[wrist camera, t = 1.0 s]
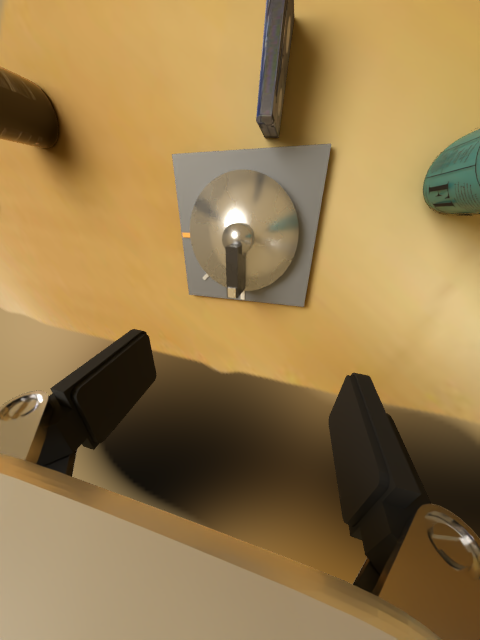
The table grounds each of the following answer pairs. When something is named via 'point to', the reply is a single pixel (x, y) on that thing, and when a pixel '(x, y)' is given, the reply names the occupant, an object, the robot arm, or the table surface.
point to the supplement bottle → (25, 112)
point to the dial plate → (292, 175)
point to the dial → (244, 230)
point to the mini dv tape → (274, 65)
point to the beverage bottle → (455, 178)
